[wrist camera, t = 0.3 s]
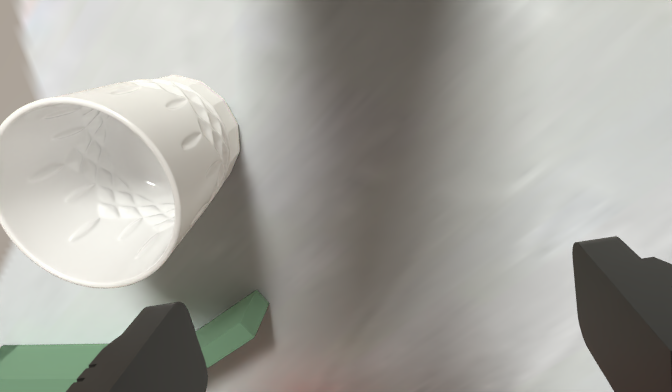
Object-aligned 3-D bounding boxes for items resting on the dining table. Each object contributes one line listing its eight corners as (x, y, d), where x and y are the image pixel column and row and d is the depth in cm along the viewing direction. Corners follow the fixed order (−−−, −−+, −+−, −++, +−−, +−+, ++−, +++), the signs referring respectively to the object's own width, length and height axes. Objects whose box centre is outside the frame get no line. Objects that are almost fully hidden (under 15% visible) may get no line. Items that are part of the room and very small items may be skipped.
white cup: (143, 210, 32) (35, 301, 22) (94, 80, 29) (-51, 121, 20) (267, 187, 30) (207, 274, 21) (227, 48, 28) (137, 76, 18)
